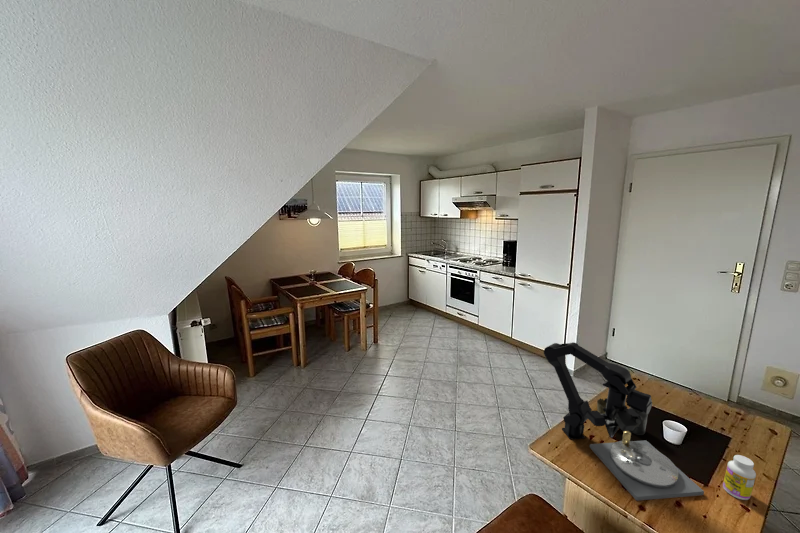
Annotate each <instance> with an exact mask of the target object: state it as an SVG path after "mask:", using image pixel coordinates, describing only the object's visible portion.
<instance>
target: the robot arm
mask: <svg viewBox="0 0 800 533" xmlns="http://www.w3.org/2000/svg"><path fill="white" fill-rule="evenodd" d="M543 355H544V357H545V359H546V360H547V362H548V363H549V364H550V365H551V366H552V367H553V368H554V371H555V372H556V375H557V377H558V379H559V382H560V384H561V387H562V389H563V391H564V392H563V393H564V394H565V395H566V399H567V402H568V403H567V404H568V408H567V409H568V413H566V414H565V415H564V416H563V417H562V419H563V422H564V427H561V430H562V431H563V432H564V434H566V435H565V436H567V437H568V438H569V440H579V439H580V440H581V439H583V440H584V439H585V438H586V436H584V432H585V422H586V421H587V420H589V422H590V423H591V424H592V425H593V426H595V427H604V426H605V428H606V431H607V434H608V436H609V437H610V438H613V437H614V436H615V434H616V433H617V431H618V430H619V429H620V430H621V431H622V432H624V431H630V430H631V431H633V430H634V428H635V427H639V425H640V424H641V421H642V418H641V416H640V415H639V414H637V413H636V412H635V411H634V410H633V409H635V410H638V411H640V412H642V413H645V414H647V415H649V414H650V411H651V409H652V405H653V401H652V395H651V394H649V393H644V392H642V391H640V390H637V385H636V384H635V382H634V379H632V375H631V371H630V370H628V369H627V368H625V367H624V366H621V365H618V364H616V363H611V362H608V361H606V360H604V359H602V358H601V357H599V356H598V355H595V353H592V352H590V351H589V350H587V349H585V348H584V347H582V346H581V345H579V344H578V343H577V342H569V343H567V342H566V343H558V342H554V343H552V344H550V345H548V346H546V347H545V348H544V350H543ZM568 355H571V356H573V357H574V358H577V359H578V360H579V361H581V362H583V363H584V364H585V365H587V366H589V367H590V368H592V369H594V370H595V371H597V372H598V373H600V374H601V376H602V377H603V379H605V380H606V381H605V382H603V384H602V386H603V387H605V388H608V389H607V390H608V391H607V398H604V399H603V400H604V401H605V402H606V403H607V404H606V408H603V411H604V412H605V414H600V413H599V412H598V410H592V407H590V403H589V401H588V400H584V399H582V398H581V396H580V393H579V392H578V389H577V387H576V385H575V383H574V380H573V377H572V375H571V373H570V370H569V368H568V366H567V363H566V360H567V359H566V356H568ZM630 407H631V408H633V409H629V408H630Z"/></svg>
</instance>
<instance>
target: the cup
mask: <svg viewBox="0 0 800 533" xmlns="http://www.w3.org/2000/svg"><path fill="white" fill-rule="evenodd" d="M604 400H605V399H604V398H599V399H597V401H596V408H597V411H598V412H599V413H600V414H605V412H604V411H603V408H606V404H607V403H606V402H605V401H604Z"/></svg>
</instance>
